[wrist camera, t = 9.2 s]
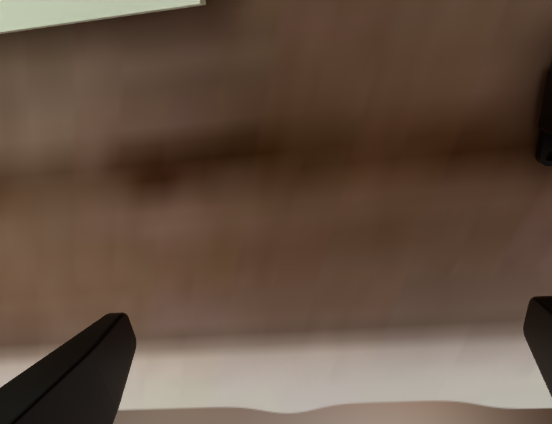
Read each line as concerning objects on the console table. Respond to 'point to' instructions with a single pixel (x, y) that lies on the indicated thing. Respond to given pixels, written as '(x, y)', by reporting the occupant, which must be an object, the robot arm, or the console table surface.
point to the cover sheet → (77, 11)
